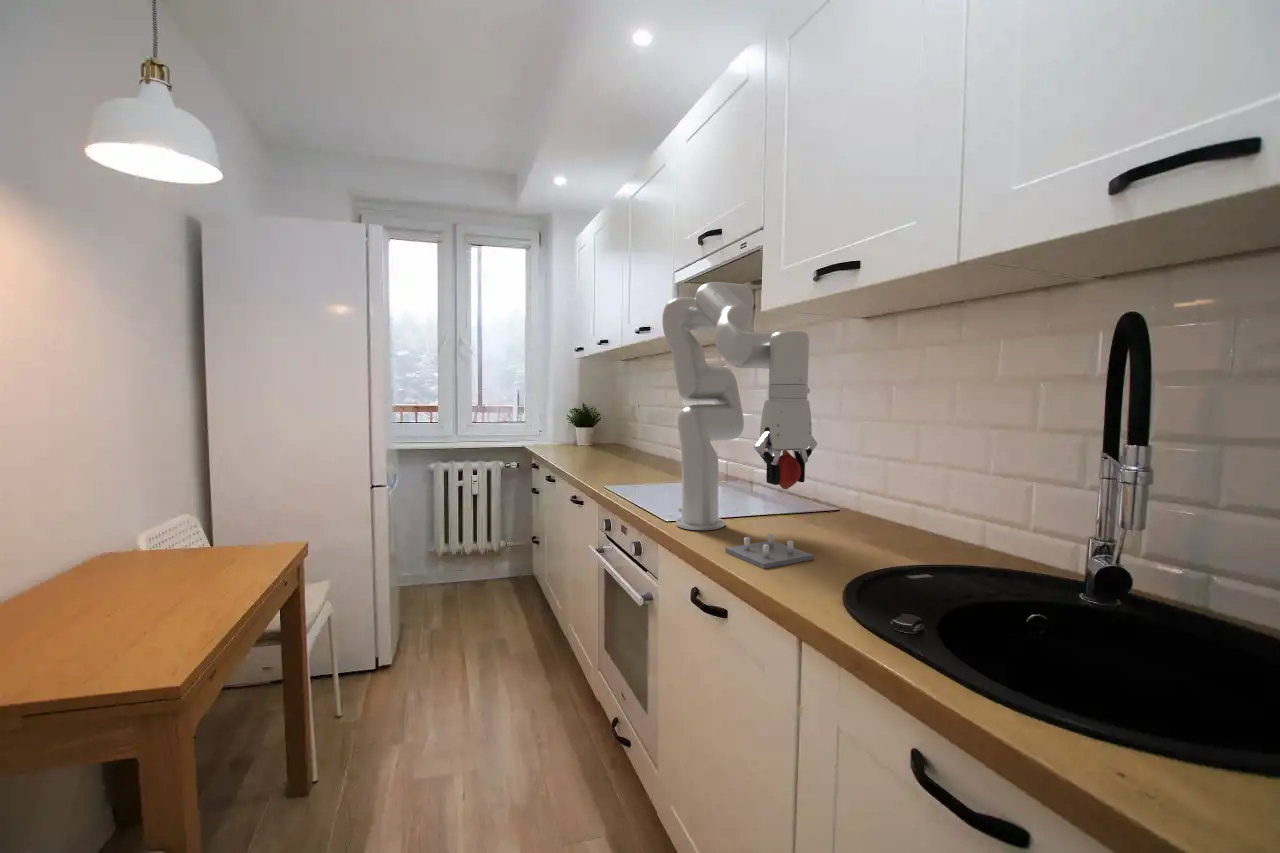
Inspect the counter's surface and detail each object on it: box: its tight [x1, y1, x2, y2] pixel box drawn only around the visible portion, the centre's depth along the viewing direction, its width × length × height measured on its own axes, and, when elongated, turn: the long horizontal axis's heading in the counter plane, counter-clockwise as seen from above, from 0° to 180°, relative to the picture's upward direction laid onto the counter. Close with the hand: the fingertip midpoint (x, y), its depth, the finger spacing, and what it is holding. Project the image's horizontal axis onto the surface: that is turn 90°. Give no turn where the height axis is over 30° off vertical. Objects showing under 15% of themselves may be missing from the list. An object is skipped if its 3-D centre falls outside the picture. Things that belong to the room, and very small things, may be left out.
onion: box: [777, 450, 801, 490], centre depth 114 cm, size 6×6×8 cm
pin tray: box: [724, 533, 814, 570], centre depth 120 cm, size 13×13×4 cm
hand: (785, 481), depth 114 cm, fingers closed on onion, 5 cm apart
